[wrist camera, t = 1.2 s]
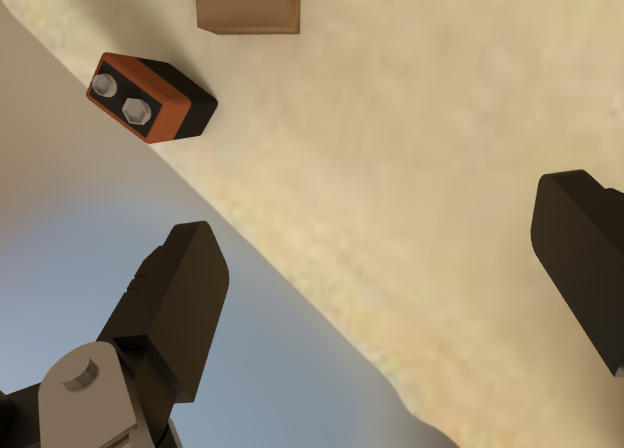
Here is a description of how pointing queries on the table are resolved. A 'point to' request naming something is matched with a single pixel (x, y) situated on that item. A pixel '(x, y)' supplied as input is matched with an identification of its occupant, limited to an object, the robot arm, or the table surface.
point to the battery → (150, 98)
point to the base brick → (249, 16)
